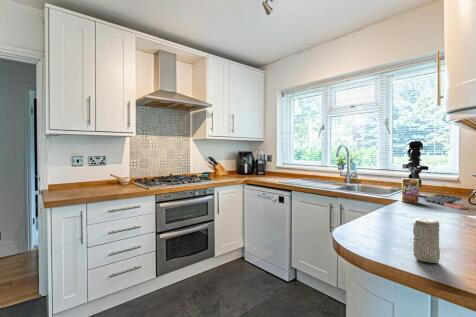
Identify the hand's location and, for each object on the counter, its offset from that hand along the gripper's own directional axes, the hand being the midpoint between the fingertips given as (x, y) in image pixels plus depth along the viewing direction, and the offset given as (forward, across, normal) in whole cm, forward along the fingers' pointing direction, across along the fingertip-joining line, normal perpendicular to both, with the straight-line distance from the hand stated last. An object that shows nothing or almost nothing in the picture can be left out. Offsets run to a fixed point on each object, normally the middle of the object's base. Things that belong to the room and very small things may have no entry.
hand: (414, 179), depth 179 cm
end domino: (+12, +28, 0) cm, 31 cm away
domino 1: (+12, +14, 0) cm, 18 cm away
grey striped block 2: (+12, +18, 0) cm, 21 cm away
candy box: (+13, +18, -16) cm, 28 cm away
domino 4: (+12, +25, 0) cm, 28 cm away
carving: (+13, +108, -73) cm, 131 cm away
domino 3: (+12, +21, 0) cm, 25 cm away
